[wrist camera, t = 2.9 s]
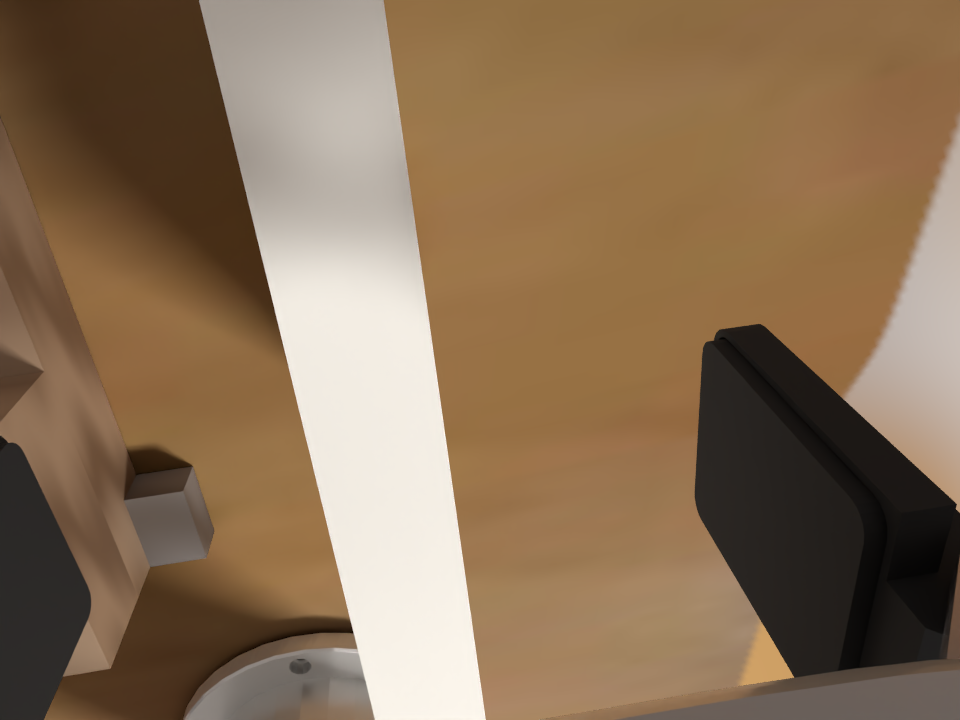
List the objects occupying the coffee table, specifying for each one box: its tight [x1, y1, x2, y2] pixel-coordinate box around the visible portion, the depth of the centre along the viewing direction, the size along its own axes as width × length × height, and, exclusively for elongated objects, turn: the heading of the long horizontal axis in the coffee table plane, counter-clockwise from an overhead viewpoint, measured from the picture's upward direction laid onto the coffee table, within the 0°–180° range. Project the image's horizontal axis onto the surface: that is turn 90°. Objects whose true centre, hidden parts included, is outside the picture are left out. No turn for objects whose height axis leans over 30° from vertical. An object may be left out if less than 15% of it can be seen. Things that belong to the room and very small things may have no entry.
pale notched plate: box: [199, 0, 486, 720], centre depth 17 cm, size 2×14×14 cm, turn 6°
